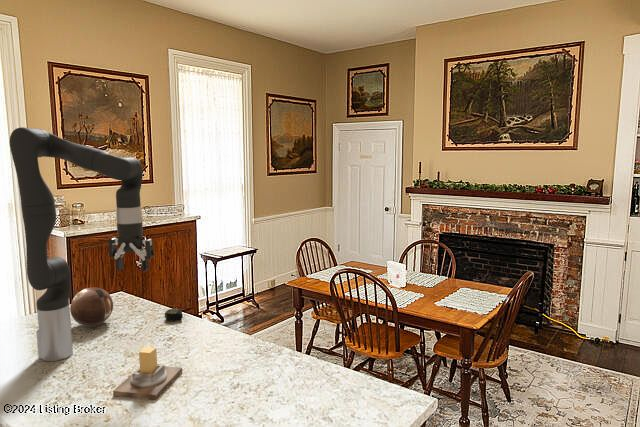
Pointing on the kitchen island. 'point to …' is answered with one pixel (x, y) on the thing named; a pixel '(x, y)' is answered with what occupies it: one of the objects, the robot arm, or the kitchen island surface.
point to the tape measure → (173, 314)
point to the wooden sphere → (91, 306)
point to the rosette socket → (148, 383)
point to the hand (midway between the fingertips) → (132, 270)
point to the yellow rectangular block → (148, 360)
